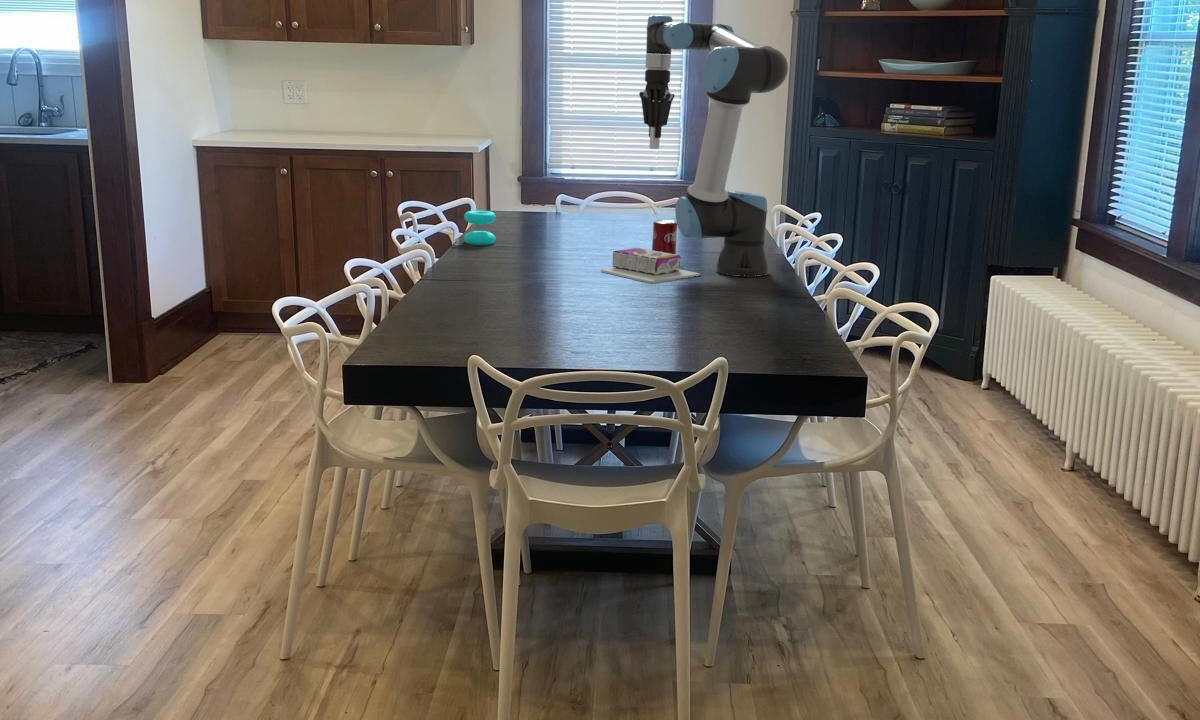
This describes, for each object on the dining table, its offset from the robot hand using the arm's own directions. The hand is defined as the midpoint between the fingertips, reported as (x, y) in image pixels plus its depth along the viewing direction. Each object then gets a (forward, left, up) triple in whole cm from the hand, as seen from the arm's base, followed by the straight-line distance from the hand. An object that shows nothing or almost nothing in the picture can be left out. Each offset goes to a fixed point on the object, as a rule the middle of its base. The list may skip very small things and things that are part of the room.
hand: (654, 148), depth 343 cm
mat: (-24, +24, -32) cm, 47 cm away
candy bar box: (-13, +24, -29) cm, 40 cm away
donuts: (+43, +34, -33) cm, 64 cm away
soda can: (-12, +6, -33) cm, 35 cm away
